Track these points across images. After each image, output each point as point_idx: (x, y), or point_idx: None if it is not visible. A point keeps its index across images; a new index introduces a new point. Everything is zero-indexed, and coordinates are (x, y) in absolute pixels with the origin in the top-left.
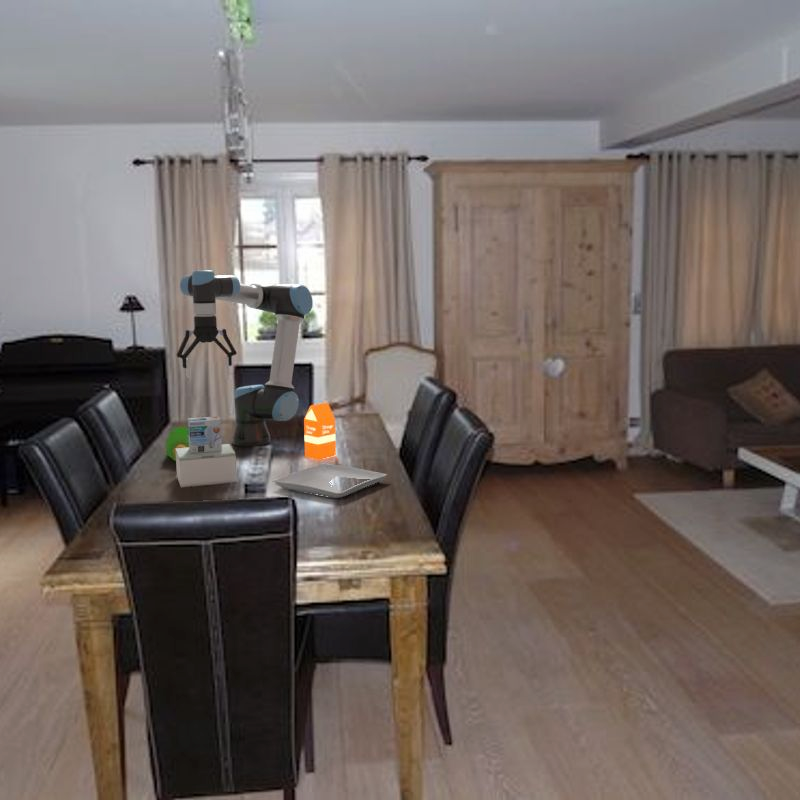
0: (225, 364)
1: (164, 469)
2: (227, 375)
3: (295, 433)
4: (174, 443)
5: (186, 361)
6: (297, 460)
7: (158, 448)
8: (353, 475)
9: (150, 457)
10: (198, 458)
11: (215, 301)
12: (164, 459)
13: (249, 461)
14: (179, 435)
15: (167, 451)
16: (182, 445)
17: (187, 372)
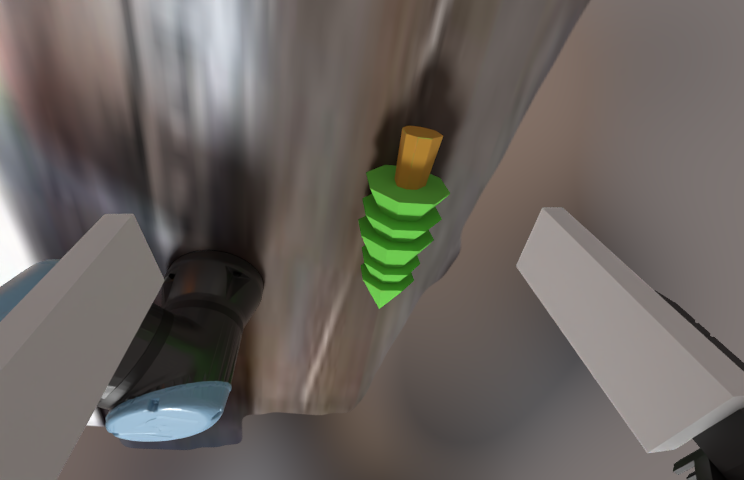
0: (107, 383)
1: (461, 97)
2: (125, 214)
3: None
4: (427, 190)
5: (724, 356)
6: (18, 32)
7: (418, 286)
8: None
9: (453, 226)
10: None
11: None
12: None
13: (210, 92)
14: (418, 201)
15: (440, 182)
16: (415, 153)
17: (594, 241)
